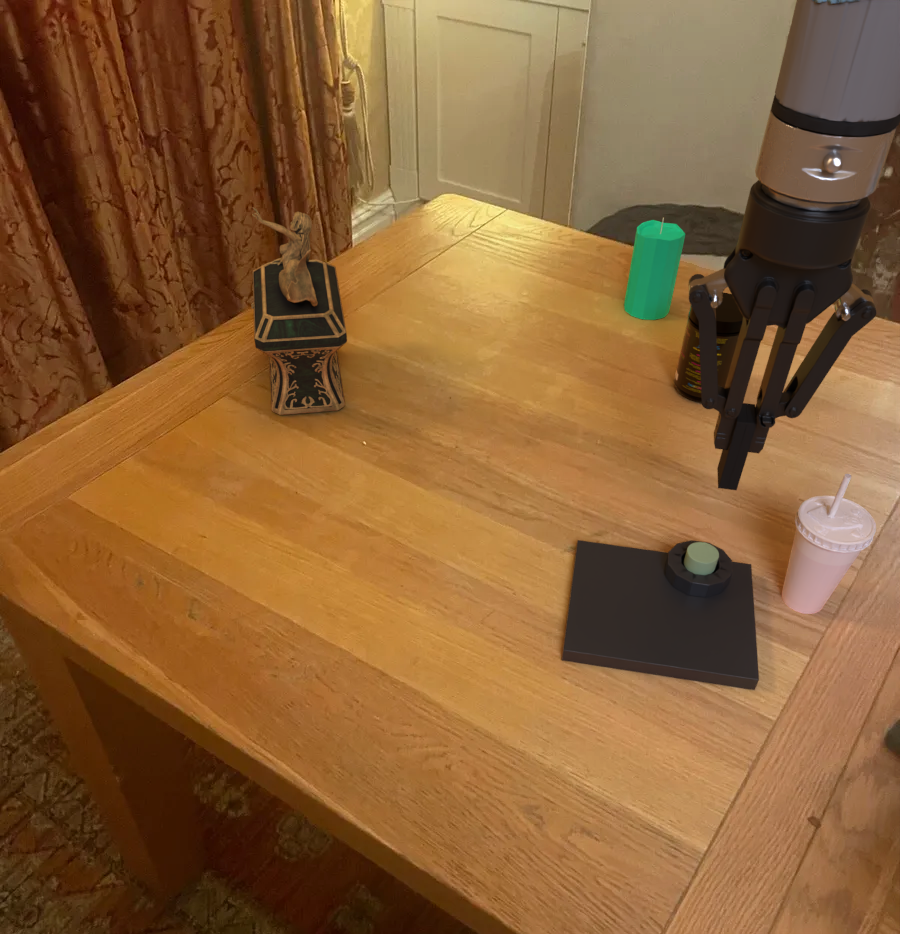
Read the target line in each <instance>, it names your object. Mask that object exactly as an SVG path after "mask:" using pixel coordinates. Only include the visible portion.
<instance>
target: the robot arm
mask: <svg viewBox="0 0 900 934" xmlns="http://www.w3.org/2000/svg"><path fill="white" fill-rule="evenodd" d="M795 1H796V2H795V6H794V10H793V14H792V19H791V23H790V26H789V31H788V36H787V38H786V39H787V40H786V44H785V48H784V52H783V56H782V60H781V65H780V69H779V73H778V77H777V81H776V86H775V90H774V95H773V99H772V103H771V107H770V110H769V113H768V118H767V121H766V125H765V129H764V134H763V137H762V143H761V145H760V148H759V153H758V157H757V160H756V164H755V169H754V173H755V177H756V178H757V180H756V181H755V182H754V183H753V184H752V186H750V190H749V192H748V193H749V194H748V198H747V201H746V206H745V210H744V213H743V218H742V222H741V226H740V230H739V234H738V238H737V242H736V245H735V247H734V248H733V250H732V252H731V253H729V255H728V256H727V258H726V259H725V260H724V263H723V268H721V269H719V270H717V271H715V272H712V273H710V274H708V275H706V276H705V275H703V274H702V273H696V274H693V275H691V276H690V278H689V280H688V301H689V304H690V306H692V308H693V310H694V312H695V315H696V317H697V319H698V321H699V345H700V372H701V398H702V403H701V405H702V407H703V408H704V409H706V410H713V409H714V410H715V411H717V412H718V416H717V419H716V423H715V427H714V430H713V444H714V449H715V450H721V454H720V457H719V461H718V465H717V468H716V469H717V489H722V490H728V491H729V490H730V491H737V490H738V488H739V484H740V481H741V477H742V474H743V471H744V468H745V465H746V461H747V458H748V454H749V453H752V454H760V453H761V451H762V450H763V449H764V446H765V444H766V440H767V438H768V435H769V431H770V428H772V427H774V426H775V425H776V419H777V418H782V417H787V418H788V419H796V418H798V417H799V416H800V415H802V413H803V411H804V410H805V408H806V407H807V405H808V404H809V402H810V401H811V399H812V397H814V395H815V393H816V392H817V390H818V388H819V387H820V386H821V384H822V383H823V382H824V380H825V378H826V377H827V375H828V374H829V372H830V371H831V369H832V367H833V366H834V365H835V363H836V361H837V360H838V359H839V357H840V355H841V354H842V353H843V351H844V349H846V347H847V345H848V343H849V342H850V340H851V339H852V338H853V336H854V335H855V334H857V333H858V332H859V331H861V330H862V329H863V328H864V327H865V326H867V325H868V324H869V323H870V322H872V321H873V320H874V319H875V317H876V315H877V309H876V306H875V305H876V304H875V302H874V298H873V295H872V292H871V291H870V290H869V289H860V288H859V287H858V286H857V285H855V284H854V283H853V281H854V276H853V272H852V271H853V270H852V262H853V258H854V256H855V253H856V250H857V247H858V244H859V241H860V239H861V235H862V232H863V229H864V227H865V225H866V221H867V219H868V215H869V212H870V209H871V202H870V199H869V196H871V195H872V194H873V193H875V192H876V190H877V189H878V185H879V183H880V179H881V176H882V173H883V171H884V168H885V164H886V161H887V158H888V156H889V155H888V154H889V152H890V149H891V147H892V143H893V139H894V137H895V134H896V130H897V127H898V126H899V125H900V0H795ZM727 288H728V290H729V292H730V294H732V296H733V298H734V300H735V302H736V304H737V306H738V308H739V310H740V312H741V314H742V315H743V321H742V326H741V330H740V333H739V337H738V341H737V344H736V348H735V352H734V355H733V359H732V363H731V366H730V370H729V374H728V378H727V381H726V385H725V388H724V387H721V386H719V385H718V377H717V334H716V307H718V306H719V305H720V304H721V303H722V301H723V293H724V291H725V290H726V289H727ZM833 304H834V312H833V313H832V315H831V316H829V318H828V320H827V322H826V324H825V325H824V327H823V328H822V329H821V330H820V333H819V334H818V336H817V337H816V339H815V341H814V343H812V346H811V347H810V349H809V350H808V352H807V353H806V355H805V357H804V358H803V360H802V361H801V363H800V365H799V366H798V368H797V370H796V371H795V373H794V374H793V375H792V377H791V379H790V381H788V383H787V380H788V377H789V373H790V371H791V368H792V364H793V361H794V359H795V355H796V351H797V349H798V346H799V345H800V343H801V341H802V338H803V336H804V331H805V329H806V326H807V324H809V323H811V322H812V321H814V320H815V319H816V318H817V317H819V316H820V315H821V314H822V313H823V312H824V311H826V310H827V309H828V308H830V307H831V306H832V305H833ZM770 326H777V329H776V332H775V336H774V338H773V341H772V342H773V343H772V345H771V349H770V352H769V356H768V359H767V362H766V366H765V369H764V372H763V377H762V379H761V382H760V386H759V389H758V392H757V397H756V404H755V403H747V402H744V401H745V397H746V393H747V390H748V387H749V385H750V384H749V383H750V380H751V376H752V374H753V373H752V372H753V369H754V366H755V364H756V359H757V356H758V352H759V349H760V346H761V342H762V341H763V340H764V337H765V334H766V330H767V327H770ZM786 384H787V385H786ZM785 386H786V387H785Z"/></svg>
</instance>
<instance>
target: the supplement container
mask: <svg viewBox="0 0 900 934" xmlns="http://www.w3.org/2000/svg"><path fill="white" fill-rule="evenodd" d="M742 321H743V315H742V314H741V312H740V310H739V308H738V306H737V304H736V302H735V300H734V298H733V296H732V294H731V293H729V292H723V301H722V303H721V304H720V305H719V306H718V307H716V334H717V377H718V385H719V386H721V387H724V388H725V385H726V381H727V378H728V374H729V370H730V366H731V363H732V359H733V355H734V352H735V348H736V344H737V341H738V337H739V333H740V330H741V326H742ZM673 384H674V387H675V389H676V391H677V392H678V393H679V394H680V395H681V396H682V397H684V398H686V400H689V401H693V402H697V403H701V404H702V398H701V372H700V345H699V321H698V319H697V317H696V315H695V312H694V310H693V308H692V306H691V305H690V307H689V311H688V313H687V320H686V325H685V329H684V334H683V338H682V343H681V347H680V351H679V356H678V360H677V363H676V369H675V373H674V378H673Z"/></svg>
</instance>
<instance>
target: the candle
mask: <svg viewBox="0 0 900 934" xmlns="http://www.w3.org/2000/svg"><path fill="white" fill-rule="evenodd" d="M664 220H665V217H663V216H662V221H659V220H655V219H650V220H647V221H644V222H641V223H640V224H639V225H637V227H636V231H635V236H634V243H633V249H632V254H631V262H630V266H629V273H628V279H627V284H626V289H625V290H626V291H625V296H624V301H623V309H624V312H626V313H627V314H628V315H629V316H630V317H633V318H636V319H640V320H643V321H644V320H648V321H656V320H660V319H664V318H665V317H666V316H667V315H668V314H670V310H671V305H672V302H673V296H674V291H675V287H676V282H677V278H678V273H679V267H680V263H681V258H682V253H683V248H684V244H685V238H686V232H685V231H684V230H683V229H682V228H681V227H680V226H679V225H678V223H673V222H671V223H670V222H664Z"/></svg>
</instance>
